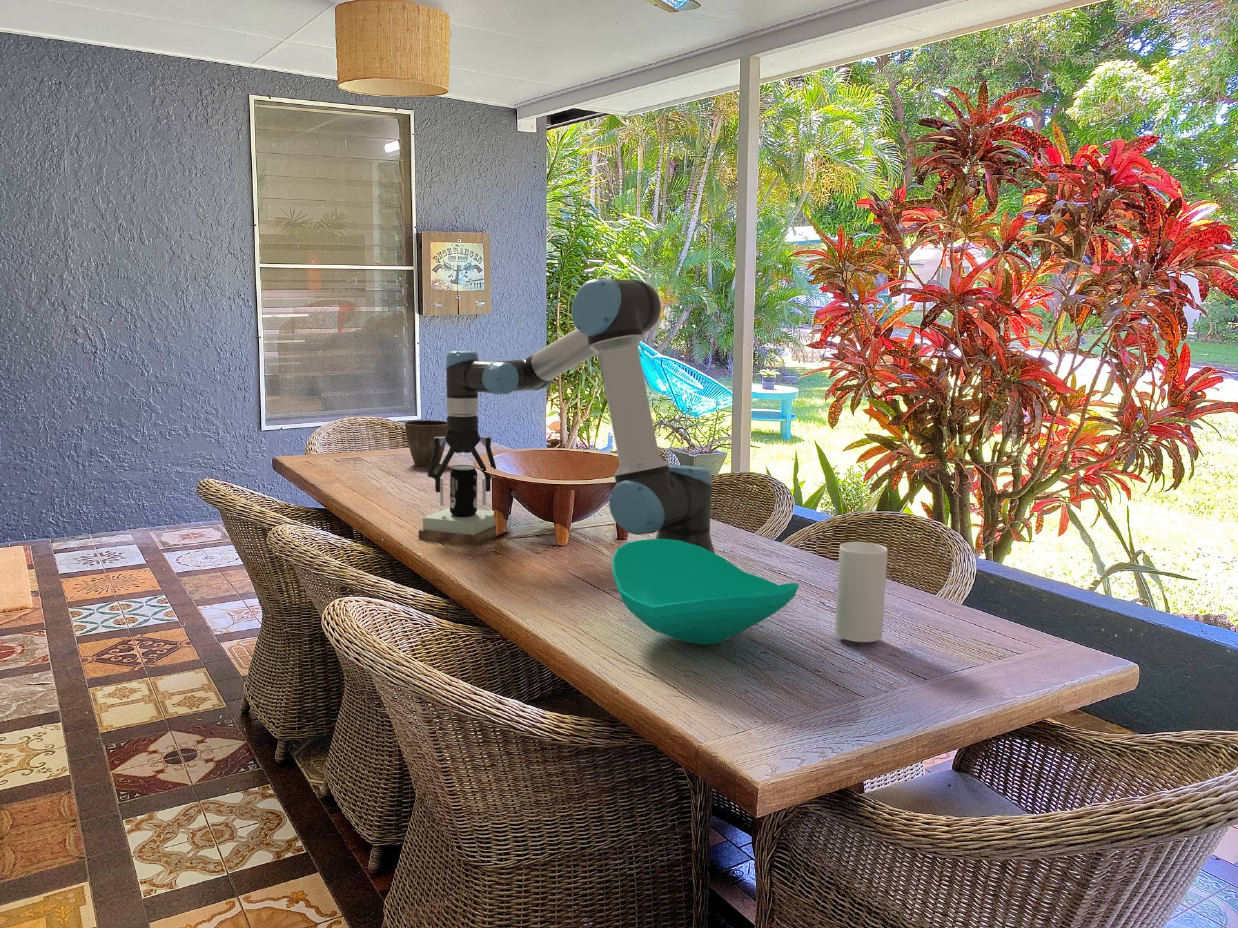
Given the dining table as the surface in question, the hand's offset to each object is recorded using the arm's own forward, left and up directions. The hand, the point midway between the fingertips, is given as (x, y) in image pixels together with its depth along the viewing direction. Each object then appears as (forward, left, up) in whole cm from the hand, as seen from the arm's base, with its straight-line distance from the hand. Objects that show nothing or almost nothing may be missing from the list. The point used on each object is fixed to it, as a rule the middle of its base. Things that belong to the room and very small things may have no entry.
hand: (463, 504), depth 242 cm
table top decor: (-74, +50, -8) cm, 90 cm away
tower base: (0, 0, -9) cm, 9 cm away
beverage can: (0, 0, -3) cm, 3 cm away
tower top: (0, 0, -6) cm, 6 cm away
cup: (-100, +38, -8) cm, 107 cm away
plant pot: (+59, -83, -8) cm, 102 cm away
